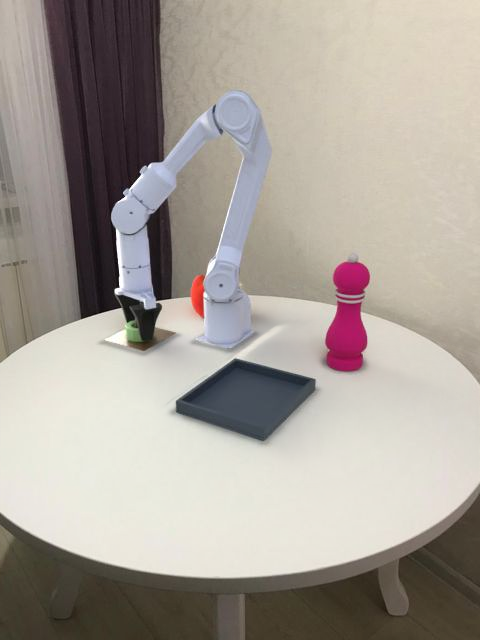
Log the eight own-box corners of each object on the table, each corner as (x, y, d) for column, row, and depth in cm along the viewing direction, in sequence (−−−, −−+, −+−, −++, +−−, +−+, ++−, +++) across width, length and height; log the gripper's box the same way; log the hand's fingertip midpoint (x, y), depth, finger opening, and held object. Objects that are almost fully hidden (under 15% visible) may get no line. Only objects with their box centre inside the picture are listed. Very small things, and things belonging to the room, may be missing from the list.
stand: (137, 325, 121) (135, 304, 119) (176, 335, 116) (175, 314, 114) (103, 342, 113) (101, 321, 111) (144, 354, 108) (142, 331, 106)
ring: (138, 328, 118) (137, 317, 116) (160, 334, 115) (159, 322, 114) (120, 338, 113) (119, 326, 112) (142, 344, 111) (141, 332, 110)
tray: (235, 368, 103) (235, 357, 102) (315, 389, 95) (315, 378, 94) (176, 412, 89) (175, 400, 88) (263, 441, 82) (264, 429, 81)
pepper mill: (363, 355, 107) (373, 247, 98) (367, 373, 100) (378, 259, 92) (322, 354, 107) (329, 246, 99) (324, 372, 101) (332, 258, 92)
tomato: (181, 315, 126) (179, 276, 122) (219, 302, 132) (219, 265, 129) (213, 329, 118) (212, 288, 115) (252, 315, 125) (253, 276, 121)
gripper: (101, 257, 112) (108, 323, 118) (126, 278, 101) (133, 350, 106) (136, 252, 115) (141, 317, 121) (165, 272, 104) (169, 342, 109)
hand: (140, 332), depth 114 cm, fingers open, 7 cm apart
